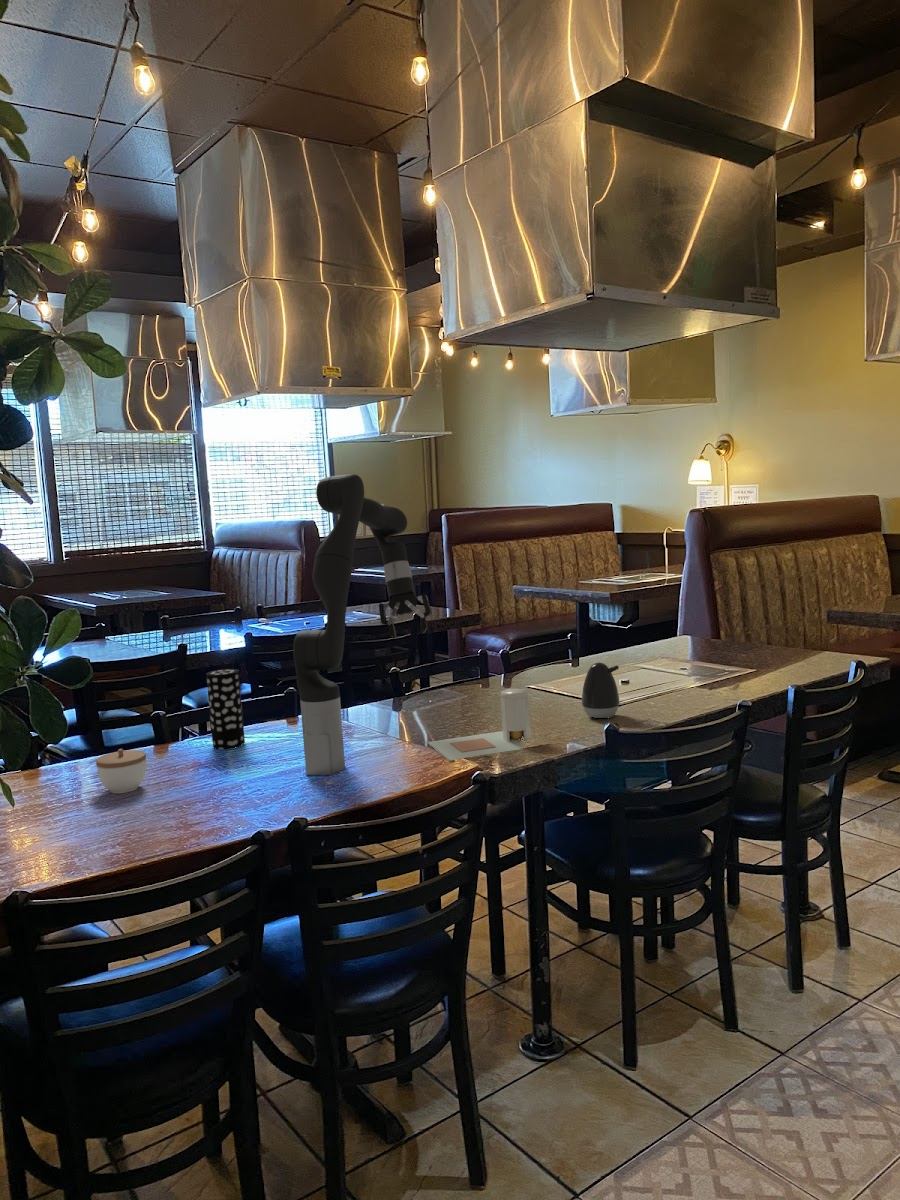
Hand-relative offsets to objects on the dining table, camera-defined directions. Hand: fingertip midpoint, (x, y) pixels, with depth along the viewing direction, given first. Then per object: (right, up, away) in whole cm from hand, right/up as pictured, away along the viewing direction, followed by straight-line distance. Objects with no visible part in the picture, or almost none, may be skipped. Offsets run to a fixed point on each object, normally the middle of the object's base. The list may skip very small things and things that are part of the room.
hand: (409, 635), depth 244 cm
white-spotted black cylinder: (-48, -29, -11) cm, 57 cm away
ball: (+28, -24, -24) cm, 44 cm away
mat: (+23, -26, -25) cm, 43 cm away
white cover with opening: (+28, -25, -23) cm, 45 cm away
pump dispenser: (+53, -23, -5) cm, 58 cm away
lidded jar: (-63, -34, -44) cm, 84 cm away
